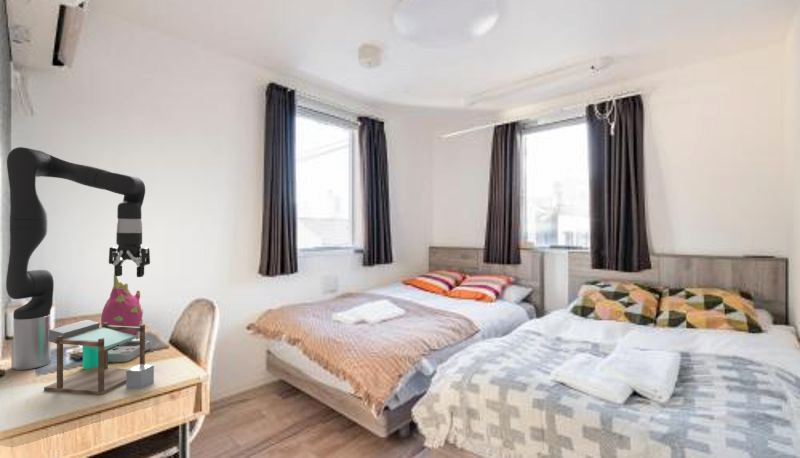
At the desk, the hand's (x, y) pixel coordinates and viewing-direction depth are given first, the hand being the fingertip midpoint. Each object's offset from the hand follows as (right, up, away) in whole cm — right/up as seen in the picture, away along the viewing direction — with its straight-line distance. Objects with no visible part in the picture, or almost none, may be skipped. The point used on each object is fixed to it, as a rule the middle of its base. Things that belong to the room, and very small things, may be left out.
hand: (129, 276), depth 134 cm
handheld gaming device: (-6, -31, +7) cm, 33 cm away
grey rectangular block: (+16, -26, -18) cm, 36 cm away
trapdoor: (0, -19, -16) cm, 25 cm away
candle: (-10, -31, -3) cm, 33 cm away
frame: (+1, -31, -16) cm, 35 cm away
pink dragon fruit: (-16, -31, +19) cm, 39 cm away
